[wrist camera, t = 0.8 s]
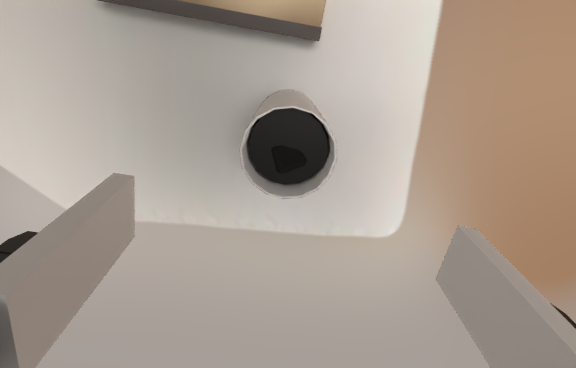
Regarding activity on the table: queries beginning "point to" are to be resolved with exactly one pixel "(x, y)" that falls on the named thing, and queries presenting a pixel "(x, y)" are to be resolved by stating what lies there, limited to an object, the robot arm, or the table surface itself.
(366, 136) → the table surface
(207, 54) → the table surface
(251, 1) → the wooden wall shelf
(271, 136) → the white paper cup
